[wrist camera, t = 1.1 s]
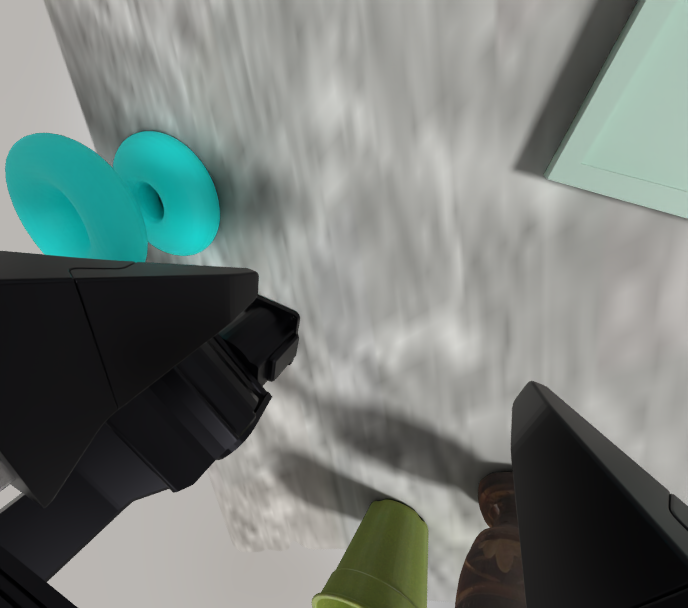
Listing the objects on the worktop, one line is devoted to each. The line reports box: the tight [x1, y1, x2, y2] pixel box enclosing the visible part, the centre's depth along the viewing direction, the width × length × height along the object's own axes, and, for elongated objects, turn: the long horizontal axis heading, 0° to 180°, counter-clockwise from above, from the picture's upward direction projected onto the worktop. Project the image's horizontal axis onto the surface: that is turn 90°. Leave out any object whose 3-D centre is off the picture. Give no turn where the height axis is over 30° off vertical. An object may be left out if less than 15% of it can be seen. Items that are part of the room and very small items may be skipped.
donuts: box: [5, 131, 220, 263], centre depth 24 cm, size 10×10×10 cm
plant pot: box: [312, 499, 428, 608], centre depth 33 cm, size 12×12×11 cm
